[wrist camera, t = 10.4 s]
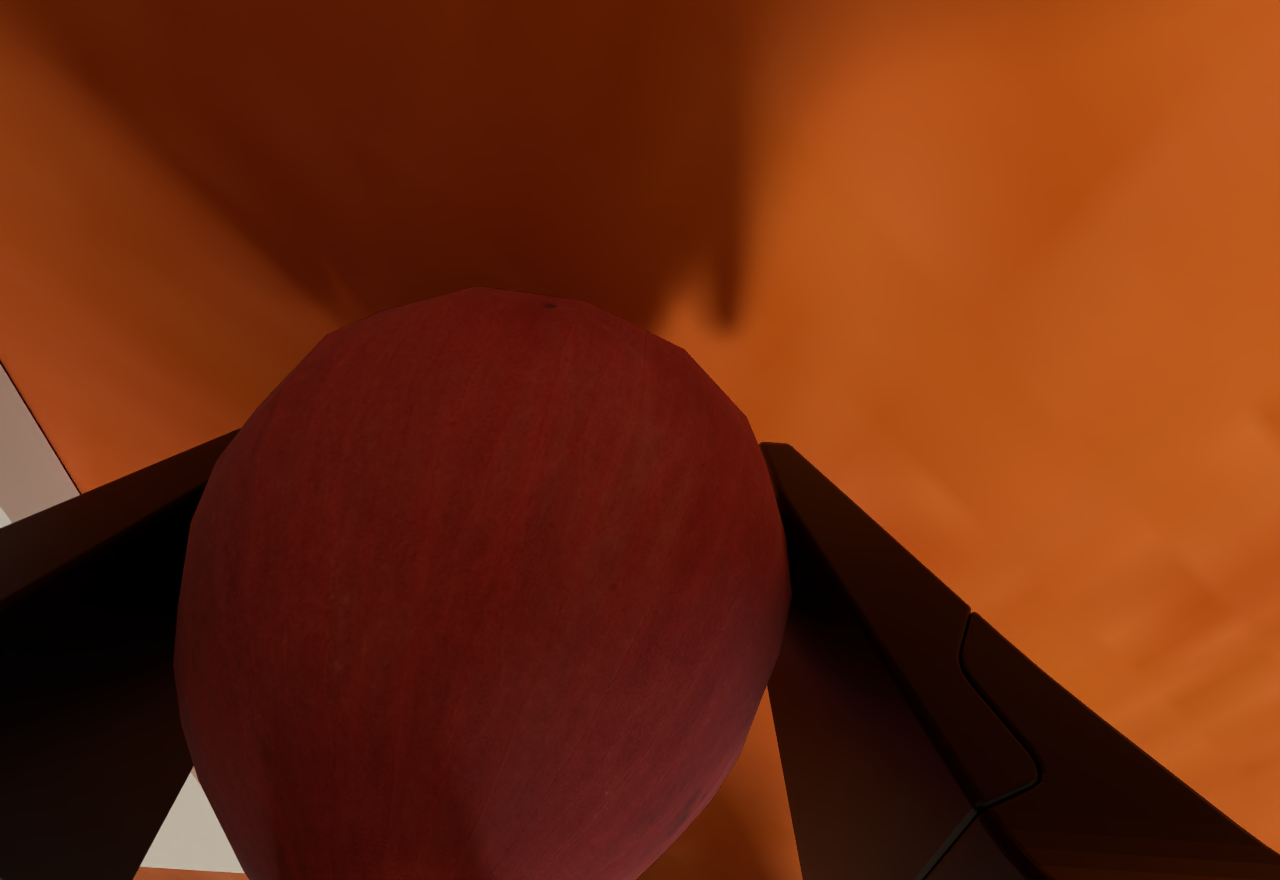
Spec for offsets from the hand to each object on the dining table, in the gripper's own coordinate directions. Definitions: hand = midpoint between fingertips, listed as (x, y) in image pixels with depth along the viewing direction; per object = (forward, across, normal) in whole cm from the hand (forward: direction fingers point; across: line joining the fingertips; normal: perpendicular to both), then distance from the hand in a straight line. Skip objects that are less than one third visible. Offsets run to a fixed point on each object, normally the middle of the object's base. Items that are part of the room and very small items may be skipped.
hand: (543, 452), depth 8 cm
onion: (+2, 0, 0) cm, 2 cm away
